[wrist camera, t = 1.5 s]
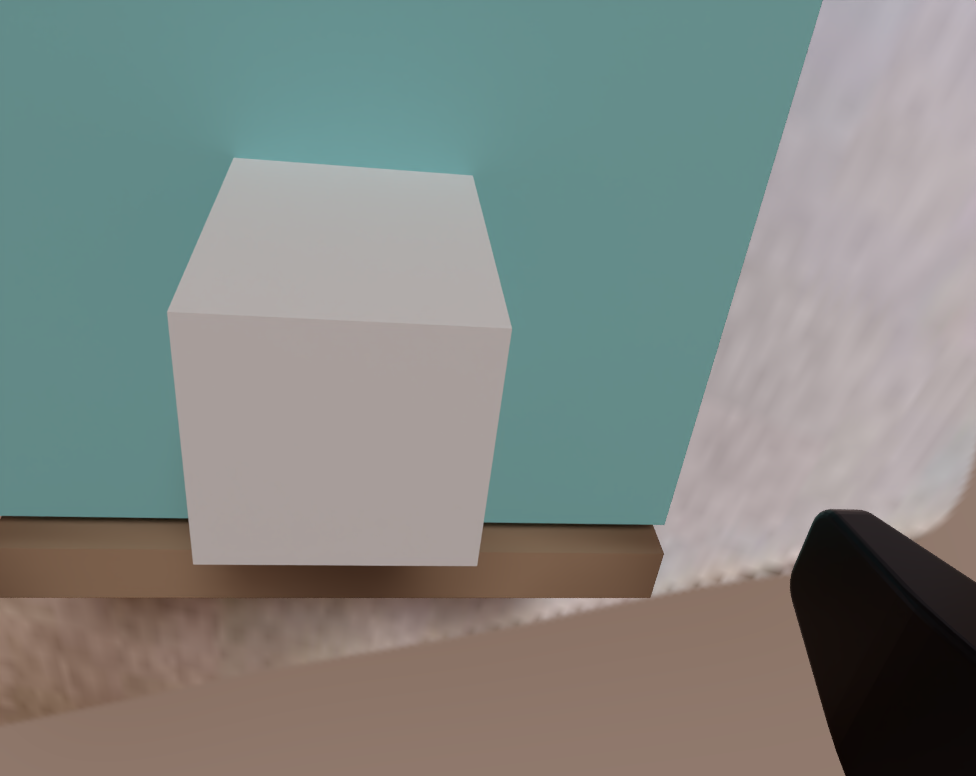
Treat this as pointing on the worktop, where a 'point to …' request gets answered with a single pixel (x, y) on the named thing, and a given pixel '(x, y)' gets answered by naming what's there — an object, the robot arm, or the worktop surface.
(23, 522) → the walnut box
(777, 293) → the worktop surface
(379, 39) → the cover plate
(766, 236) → the worktop surface
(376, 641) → the worktop surface
